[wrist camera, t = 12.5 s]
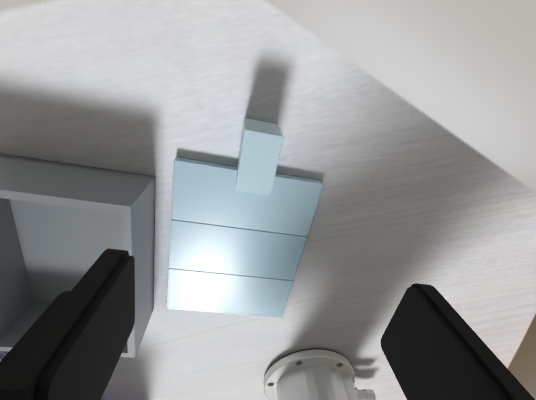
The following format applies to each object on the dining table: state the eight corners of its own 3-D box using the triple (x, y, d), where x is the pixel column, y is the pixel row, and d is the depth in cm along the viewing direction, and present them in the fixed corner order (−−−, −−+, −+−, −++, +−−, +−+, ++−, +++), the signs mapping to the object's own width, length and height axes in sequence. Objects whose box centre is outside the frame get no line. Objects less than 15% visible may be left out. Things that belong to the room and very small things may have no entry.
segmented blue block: (335, 135, 22) (354, 150, 18) (280, 311, 31) (285, 346, 28) (179, 105, 20) (163, 114, 16) (168, 302, 29) (157, 339, 26)
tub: (155, 176, 23) (130, 206, 18) (153, 309, 30) (134, 357, 25) (-4, 153, 21) (-81, 179, 16) (33, 300, 28) (-13, 350, 23)
